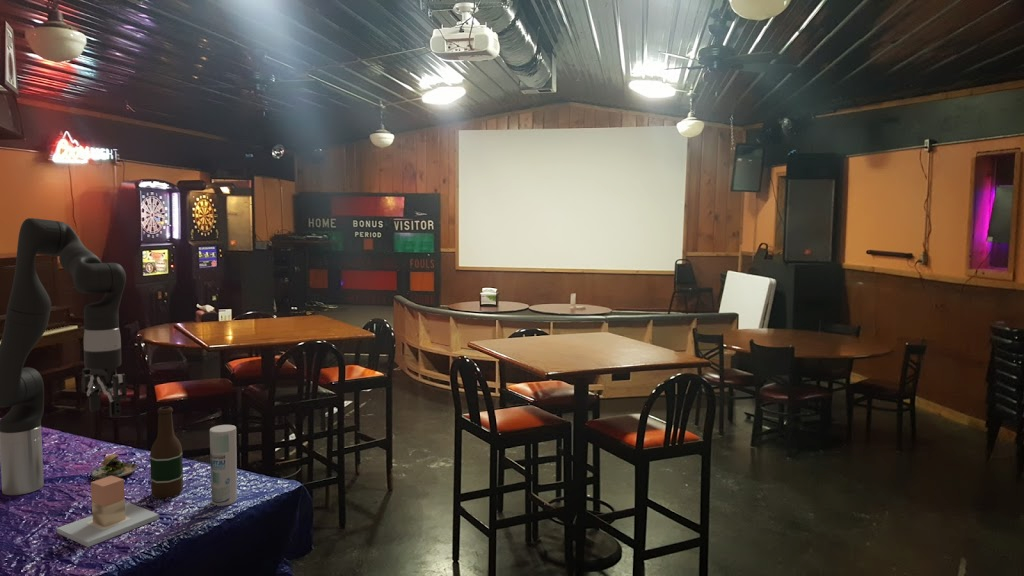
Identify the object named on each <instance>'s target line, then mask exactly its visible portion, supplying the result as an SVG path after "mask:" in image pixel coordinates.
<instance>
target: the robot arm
mask: <svg viewBox="0 0 1024 576" xmlns="http://www.w3.org/2000/svg"><path fill="white" fill-rule="evenodd" d="M37 255H38V256H49V257H50V256H52V257H53V256H54V257H58V256H59V258H58V259H59V264H60V266H61V267H62V268H63V269H64V271H66V272H67V273H68V274H69V275H70V276H71V277H72V281H73V286H74V288H75V289H76V291H78V292H79V293H82V294H87V295H89V294H91V295H92V294H104V296H103V297H102V298H101V299H100V300H99V301H96V302H91V303H89V304H87V305H85V306H84V309H83V326H84V327H83V328H84V329H83V331H84V332H83V359H84V360H83V363H84V368H82V369H81V371H82V376H81V377H82V378H81V379H82V381H81V383H82V386H81V387H82V392H83V393H86V396H87V397H88V404H89V405H88V406H89V411H90V412H99V411H100V410H101V407H102V406H101V395H100V393H101V391H102V392H103V394H104V395H106V396H107V398H108V401H109V417H111V418H116V417H120V416H121V415H122V406H121V402H122V400H125V399H127V398H128V394H127V391H128V390H127V380H126V374H125V373H119V374H118V372H117V368H118V367H120V366H121V365H122V339H121V337H122V336H121V332H120V322H119V321H120V315H119V310H120V306H121V300H122V298H123V293H124V290H125V286H126V283H127V275H126V274H127V273H126V271H125V269H124V267H123V266H122V265H121V264H119V263H117V262H103V261H102V260H101V259H100V258H99V257H98V256H97V255H96V254H95V253H94V252H92V251H91V250H89V249H88V248H87V247H86V246H85V245H84V244H83V242H82V240H81V238H80V237H79V236H78V234H77V233H76V232H75V230H74V229H73V227H72V226H71V225H69V224H68V223H67V222H66V223H65V222H63V221H59V220H51V219H43V218H42V219H41V218H33V217H31V218H30V217H28V218H26V219H24V220H23V222H22V224H21V226H20V228H19V232H18V240H17V249H16V261H15V268H14V276H13V282H12V287H11V290H10V294H9V295H10V296H9V299H8V303H7V309H6V313H5V318H4V320H5V321H4V328H3V332H2V337H1V340H0V408H3V409H4V408H10V407H11V408H10V410H9V411H8V412H7V413H6V414H5V415H4V416H2V417H1V418H0V476H1V480H0V481H1V493H2V494H3V495H7V496H19V495H26V494H29V493H33V492H36V491H38V490H40V489H42V488H43V487H44V486H45V485H44V484H45V481H44V479H45V478H44V459H43V458H44V457H43V442H42V441H43V439H42V437H43V436H42V423H41V422H42V418H43V416H44V410H45V386H44V384H45V383H44V380H43V377H42V375H41V374H40V372H39V371H38V370H37V369H35V368H33V367H29V366H28V367H27V366H26V367H24V365H25V363H26V361H27V358H28V356H29V354H30V353H31V352H32V350H33V348H34V347H35V346H36V345H37V344H38V343H39V341H40V339H41V338H42V336H43V335H44V333H45V332H46V330H47V327H48V325H49V321H50V315H51V310H52V300H51V298H50V295H49V294H48V292H47V290H46V289H45V287H44V285H43V284H42V282H41V280H40V278H39V275H38V273H37V269H36V257H37Z"/></svg>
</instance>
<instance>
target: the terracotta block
mask: <svg viewBox="0 0 1024 576" xmlns="http://www.w3.org/2000/svg"><path fill="white" fill-rule="evenodd" d="M90 493H91V494H90V495H91V498H90V499H91V504H92V503H95V504H98V505H101V506H103V507H105V506H108V505H110V504H113V503H116V502H118V501H121V500H124V499H125V498H126V497H125V496H126V495H125V479H124V478H122V477H119V478H118V477H115V476H112V475H111V476H108V477H105V478H102V479H99V480H96V481H93V480H92V481H90Z"/></svg>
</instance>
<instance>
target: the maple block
mask: <svg viewBox="0 0 1024 576" xmlns="http://www.w3.org/2000/svg"><path fill="white" fill-rule="evenodd" d="M125 503H126V500H125V499H124V500H121V501H118V502H116V503H113V504H110V505H108V506H105V507H103V506H101V505H98V504H95V503H92V502H91V508H92V509H91V511H92V514H91V516H92V515H93V522H94V523H96V524H98V525H101V526H103V527H106V526H109V525H112V524H114V523H117V522H120V521H122V520H125V519H126V518H125Z"/></svg>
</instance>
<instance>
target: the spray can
mask: <svg viewBox="0 0 1024 576" xmlns="http://www.w3.org/2000/svg"><path fill="white" fill-rule="evenodd" d="M237 449H238V448H237V426H235V425H232V424H221V425H220V424H219V425H215V426H212V427H211V428H210V429H209V450H210V451H209V452H210V486H211V487H210V488H211V489H210V490H211V504H212V505H213V504H214V505H213V506H216V505H217V506H218V507H222V506H228V505H229V506H230V505H232V504H234V503H236V502H237V500H238V482H237V481H238V480H237V479H238V474H237V473H238V470H237V469H238V468H237V467H238V466H237V465H238V463H237V461H238V459H237V453H238V452H237Z"/></svg>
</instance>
